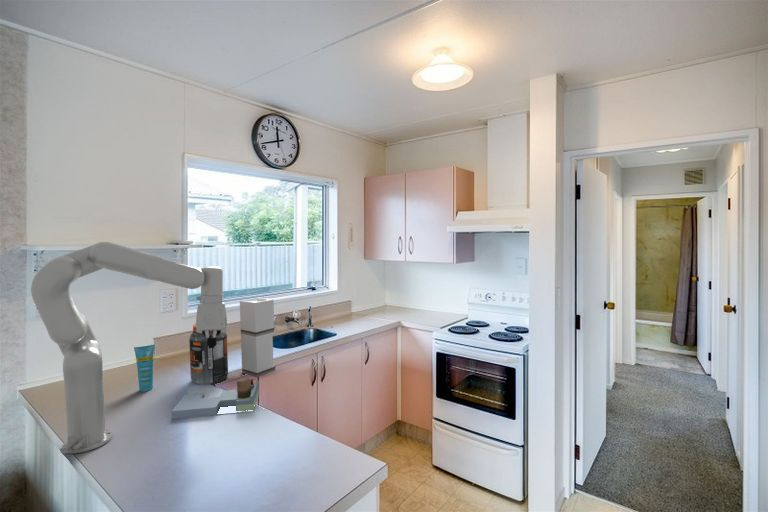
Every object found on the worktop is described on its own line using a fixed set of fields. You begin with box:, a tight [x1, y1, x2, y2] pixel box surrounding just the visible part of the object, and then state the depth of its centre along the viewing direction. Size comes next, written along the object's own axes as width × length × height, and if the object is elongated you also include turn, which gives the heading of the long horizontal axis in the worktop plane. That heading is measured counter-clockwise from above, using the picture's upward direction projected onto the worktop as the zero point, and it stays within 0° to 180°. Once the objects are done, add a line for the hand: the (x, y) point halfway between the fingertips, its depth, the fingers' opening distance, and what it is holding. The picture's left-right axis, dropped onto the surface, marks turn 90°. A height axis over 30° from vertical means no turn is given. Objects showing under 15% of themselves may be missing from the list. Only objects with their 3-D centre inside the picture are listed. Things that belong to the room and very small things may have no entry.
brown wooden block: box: [236, 378, 252, 399], centre depth 148 cm, size 5×5×6 cm
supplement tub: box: [188, 323, 229, 385], centre depth 173 cm, size 16×16×26 cm
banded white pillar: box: [239, 297, 276, 378], centre depth 182 cm, size 11×11×35 cm
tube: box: [133, 344, 155, 392], centre depth 162 cm, size 7×5×19 cm, turn 123°
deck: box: [171, 380, 260, 420], centre depth 145 cm, size 15×28×6 cm, turn 101°
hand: (211, 347), depth 143 cm, fingers closed
